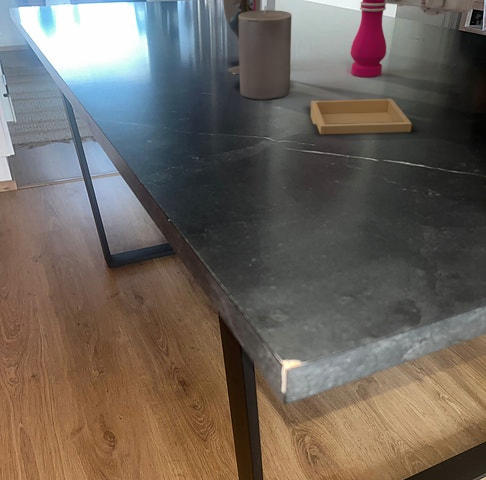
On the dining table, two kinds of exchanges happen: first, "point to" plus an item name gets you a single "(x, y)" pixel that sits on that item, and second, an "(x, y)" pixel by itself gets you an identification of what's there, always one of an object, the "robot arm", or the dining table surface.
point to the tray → (358, 116)
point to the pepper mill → (369, 40)
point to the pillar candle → (264, 53)
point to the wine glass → (233, 5)
